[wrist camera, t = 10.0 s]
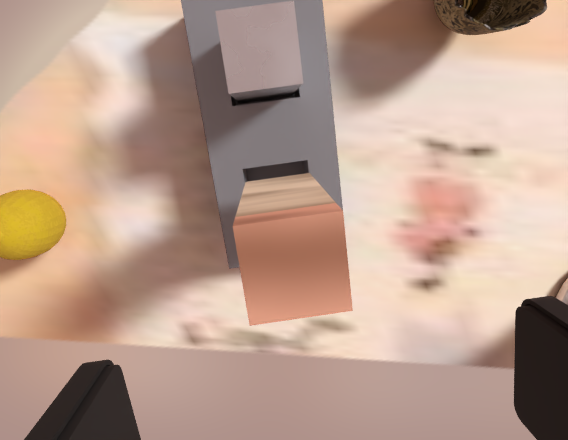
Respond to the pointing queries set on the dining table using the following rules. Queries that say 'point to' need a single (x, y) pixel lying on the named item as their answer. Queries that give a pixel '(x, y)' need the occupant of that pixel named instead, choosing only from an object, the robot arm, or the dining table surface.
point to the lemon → (29, 224)
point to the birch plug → (291, 250)
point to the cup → (487, 14)
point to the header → (263, 113)
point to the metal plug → (260, 51)
